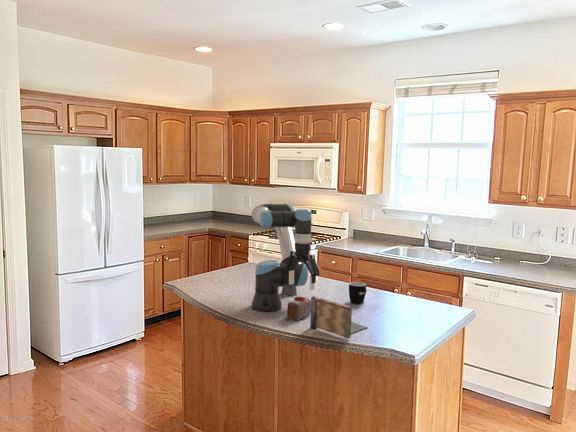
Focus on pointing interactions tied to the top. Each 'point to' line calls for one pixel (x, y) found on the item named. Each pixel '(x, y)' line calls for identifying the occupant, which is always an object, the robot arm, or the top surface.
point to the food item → (298, 308)
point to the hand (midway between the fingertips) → (301, 287)
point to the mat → (356, 327)
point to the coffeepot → (289, 291)
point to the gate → (334, 317)
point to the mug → (357, 292)
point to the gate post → (313, 312)
